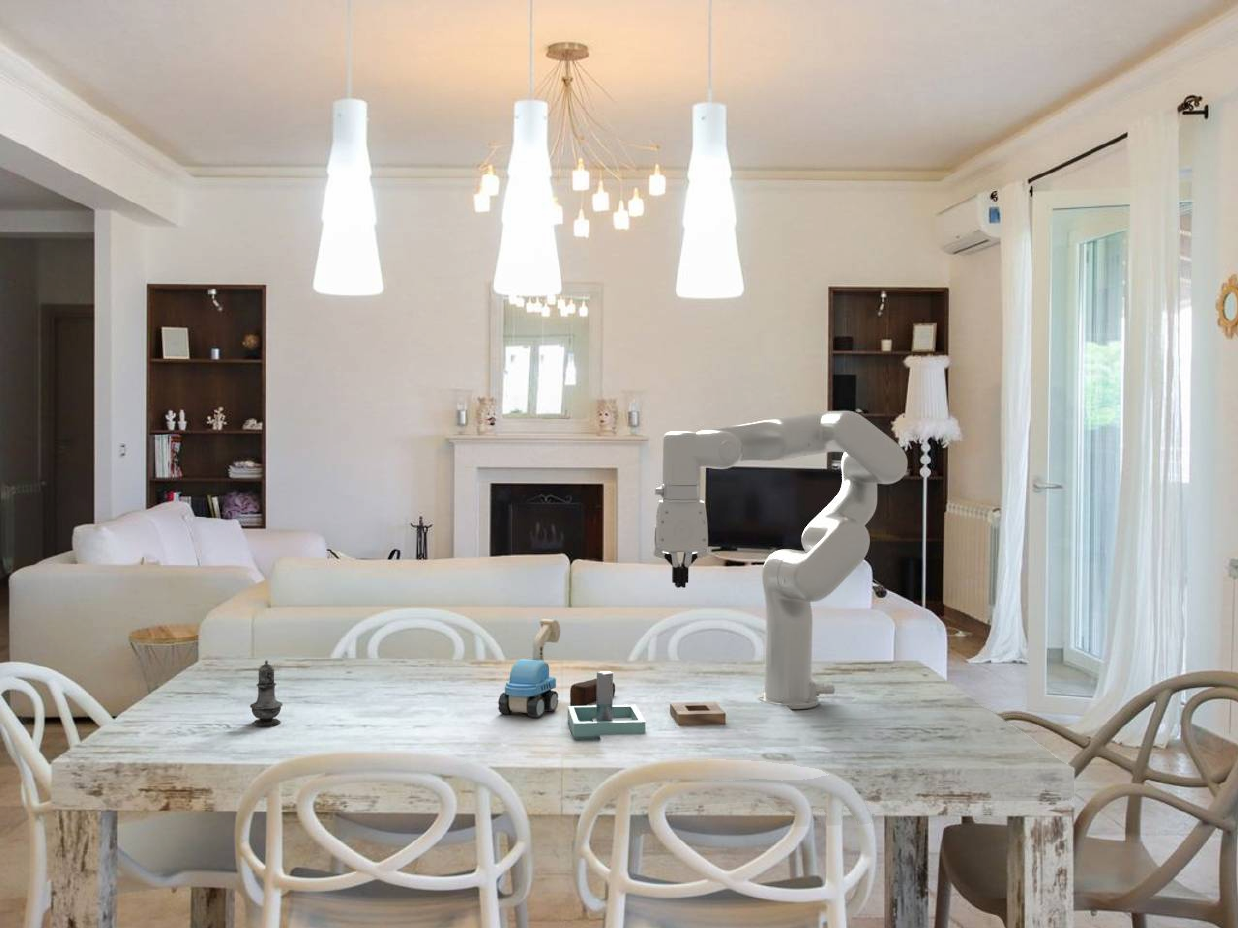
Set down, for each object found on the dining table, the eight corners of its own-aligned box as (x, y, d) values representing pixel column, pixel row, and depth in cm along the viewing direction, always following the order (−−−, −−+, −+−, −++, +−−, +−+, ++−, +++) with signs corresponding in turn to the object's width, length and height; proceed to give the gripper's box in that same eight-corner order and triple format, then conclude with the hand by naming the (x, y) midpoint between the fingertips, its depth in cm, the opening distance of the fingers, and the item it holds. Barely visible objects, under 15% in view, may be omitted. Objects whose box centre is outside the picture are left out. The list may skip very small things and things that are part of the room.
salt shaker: (252, 728, 214) (253, 664, 213) (247, 721, 219) (247, 658, 218) (285, 725, 216) (285, 661, 216) (279, 718, 221) (279, 655, 221)
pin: (611, 724, 218) (611, 671, 217) (613, 728, 215) (613, 674, 214) (595, 724, 217) (596, 671, 217) (597, 728, 214) (597, 674, 214)
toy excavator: (573, 703, 237) (574, 619, 236) (534, 721, 222) (535, 632, 221) (537, 698, 240) (538, 616, 240) (495, 716, 225) (496, 628, 225)
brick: (585, 710, 231) (585, 687, 231) (569, 707, 233) (569, 684, 233) (615, 700, 240) (616, 678, 239) (600, 698, 242) (600, 675, 242)
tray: (634, 720, 223) (635, 704, 223) (645, 738, 210) (645, 721, 210) (567, 721, 221) (567, 706, 221) (573, 739, 208) (574, 723, 208)
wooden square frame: (715, 717, 226) (715, 701, 226) (725, 729, 217) (725, 713, 217) (669, 718, 225) (670, 702, 225) (678, 730, 216) (678, 714, 216)
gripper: (646, 495, 224) (645, 589, 224) (722, 495, 226) (721, 589, 226) (641, 492, 231) (639, 584, 232) (714, 493, 233) (713, 583, 234)
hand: (680, 586), depth 229 cm, fingers closed
